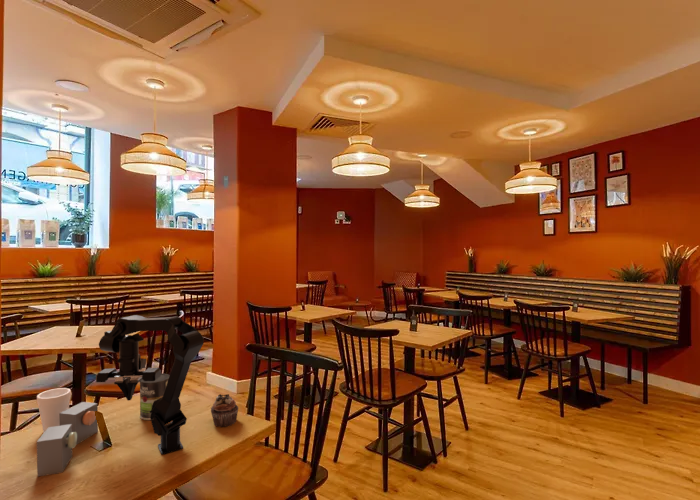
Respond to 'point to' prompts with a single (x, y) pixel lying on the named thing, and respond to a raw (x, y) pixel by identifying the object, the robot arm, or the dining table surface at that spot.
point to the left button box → (53, 450)
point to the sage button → (71, 440)
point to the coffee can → (151, 394)
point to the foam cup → (53, 406)
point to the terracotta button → (89, 417)
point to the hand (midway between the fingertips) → (129, 400)
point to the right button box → (79, 420)
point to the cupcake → (224, 411)
